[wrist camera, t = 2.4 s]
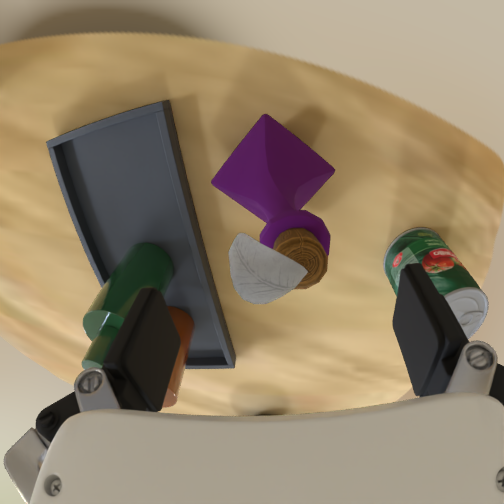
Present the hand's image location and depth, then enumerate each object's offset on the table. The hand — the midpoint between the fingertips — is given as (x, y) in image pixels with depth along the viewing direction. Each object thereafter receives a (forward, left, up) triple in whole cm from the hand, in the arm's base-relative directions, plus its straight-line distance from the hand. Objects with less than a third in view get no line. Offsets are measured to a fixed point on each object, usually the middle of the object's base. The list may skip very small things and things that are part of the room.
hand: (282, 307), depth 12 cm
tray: (+9, -15, -19) cm, 26 cm away
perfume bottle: (0, 0, -19) cm, 19 cm away
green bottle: (+9, -15, -18) cm, 26 cm away
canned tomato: (+12, +15, -19) cm, 27 cm away
